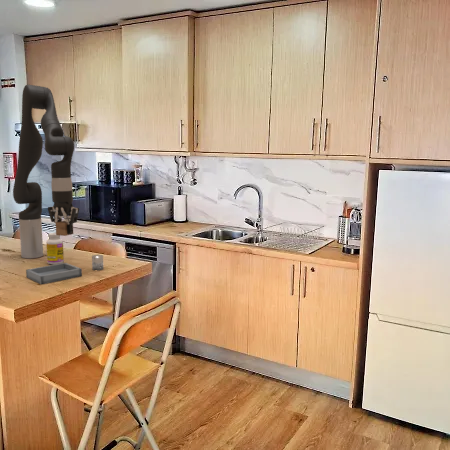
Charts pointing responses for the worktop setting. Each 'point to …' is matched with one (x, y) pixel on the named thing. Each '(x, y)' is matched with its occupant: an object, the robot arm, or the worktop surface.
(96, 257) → the grey rounded cylinder
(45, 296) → the worktop surface
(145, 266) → the worktop surface
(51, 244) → the supplement bottle
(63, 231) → the walnut block
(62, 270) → the parts tray
